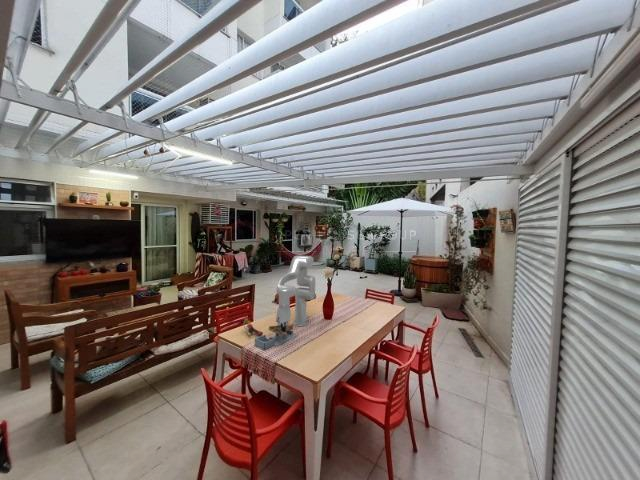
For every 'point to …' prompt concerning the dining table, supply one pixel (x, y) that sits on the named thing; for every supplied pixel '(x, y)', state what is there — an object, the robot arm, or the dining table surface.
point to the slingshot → (251, 328)
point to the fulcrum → (283, 337)
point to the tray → (264, 342)
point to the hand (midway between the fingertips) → (283, 331)
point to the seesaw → (278, 329)
